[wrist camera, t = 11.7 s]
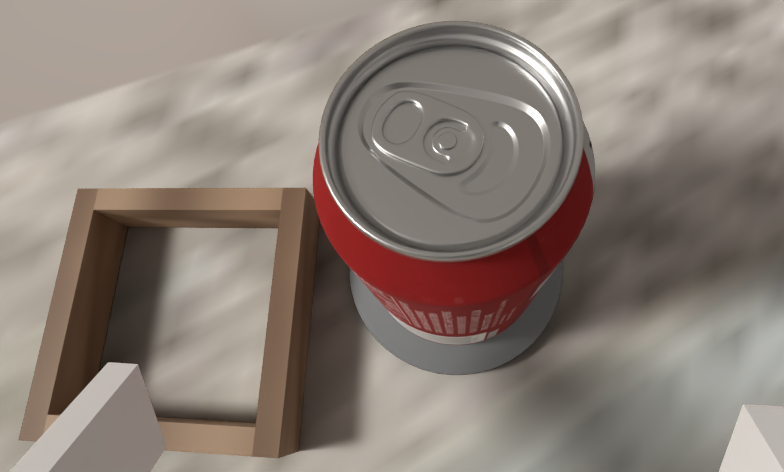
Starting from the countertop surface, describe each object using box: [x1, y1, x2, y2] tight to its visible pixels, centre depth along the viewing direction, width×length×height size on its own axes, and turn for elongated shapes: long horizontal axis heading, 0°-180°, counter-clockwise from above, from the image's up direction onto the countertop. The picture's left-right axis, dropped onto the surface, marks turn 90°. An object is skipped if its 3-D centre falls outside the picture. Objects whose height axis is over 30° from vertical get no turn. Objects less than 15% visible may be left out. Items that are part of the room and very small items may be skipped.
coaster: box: [350, 261, 562, 375], centre depth 23 cm, size 9×9×1 cm
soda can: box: [313, 21, 595, 345], centre depth 17 cm, size 7×7×12 cm
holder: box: [19, 188, 320, 458], centre depth 23 cm, size 11×11×2 cm
